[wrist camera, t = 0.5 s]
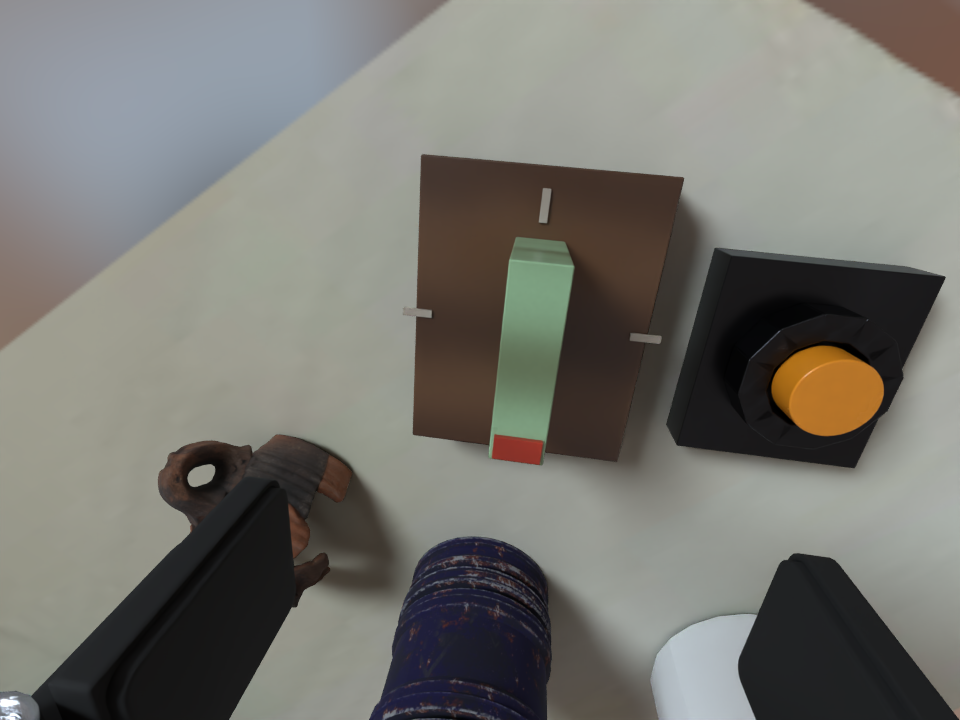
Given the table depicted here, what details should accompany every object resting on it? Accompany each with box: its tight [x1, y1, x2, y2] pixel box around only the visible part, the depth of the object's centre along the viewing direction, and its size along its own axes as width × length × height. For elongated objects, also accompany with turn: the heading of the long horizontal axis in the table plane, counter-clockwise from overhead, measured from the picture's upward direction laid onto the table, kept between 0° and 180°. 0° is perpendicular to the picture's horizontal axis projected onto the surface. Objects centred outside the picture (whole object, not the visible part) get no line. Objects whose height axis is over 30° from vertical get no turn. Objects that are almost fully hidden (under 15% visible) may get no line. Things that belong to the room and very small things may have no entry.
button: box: [771, 346, 884, 436], centre depth 20 cm, size 4×4×2 cm
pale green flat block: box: [488, 237, 575, 465], centre depth 19 cm, size 8×2×6 cm, turn 175°
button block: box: [666, 248, 946, 468], centre depth 23 cm, size 10×9×4 cm
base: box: [403, 154, 684, 462], centre depth 23 cm, size 14×12×3 cm
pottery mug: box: [158, 435, 352, 607], centre depth 29 cm, size 12×10×8 cm
